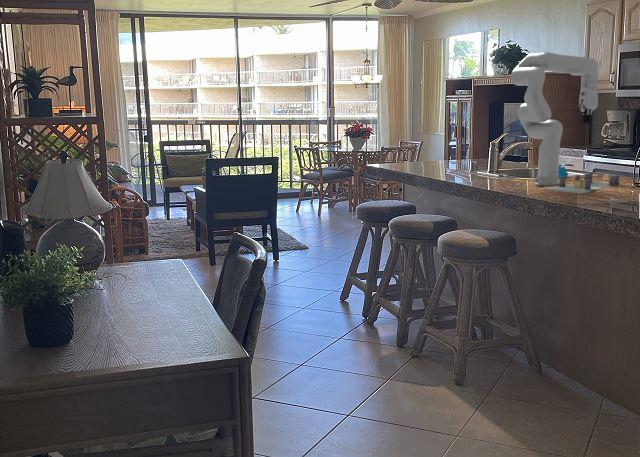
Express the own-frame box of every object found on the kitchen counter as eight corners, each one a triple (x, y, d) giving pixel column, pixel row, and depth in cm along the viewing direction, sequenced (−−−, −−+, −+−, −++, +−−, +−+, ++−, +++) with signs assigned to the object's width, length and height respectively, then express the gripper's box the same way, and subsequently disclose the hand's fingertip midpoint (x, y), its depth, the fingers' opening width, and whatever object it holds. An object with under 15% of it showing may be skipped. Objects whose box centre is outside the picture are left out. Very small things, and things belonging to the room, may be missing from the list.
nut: (583, 188, 311) (584, 181, 311) (570, 187, 317) (570, 180, 316) (591, 187, 315) (592, 180, 314) (578, 186, 320) (578, 179, 320)
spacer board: (580, 193, 303) (581, 181, 302) (545, 189, 317) (546, 178, 316) (621, 186, 323) (622, 175, 322) (586, 183, 337) (587, 172, 336)
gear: (557, 176, 356) (550, 161, 361) (550, 183, 360) (543, 168, 366) (573, 177, 361) (565, 163, 366) (566, 184, 365) (558, 170, 370)
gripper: (587, 85, 333) (585, 123, 336) (604, 85, 342) (601, 122, 345) (573, 86, 339) (571, 123, 342) (590, 86, 348) (588, 122, 351)
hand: (586, 122), depth 344 cm, fingers closed
